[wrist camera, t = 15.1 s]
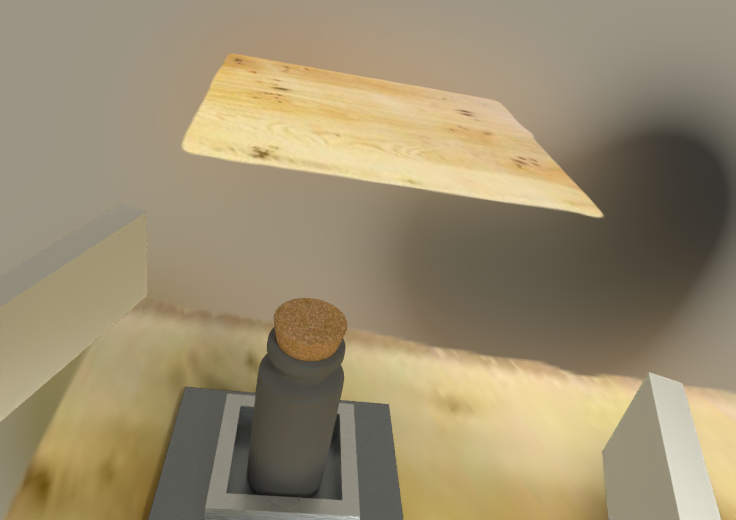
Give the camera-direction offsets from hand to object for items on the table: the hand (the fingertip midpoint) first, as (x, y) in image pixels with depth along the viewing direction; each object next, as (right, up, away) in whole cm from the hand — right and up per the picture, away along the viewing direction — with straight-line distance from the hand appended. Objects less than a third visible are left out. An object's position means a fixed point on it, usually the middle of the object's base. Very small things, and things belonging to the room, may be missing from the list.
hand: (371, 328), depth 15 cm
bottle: (-7, -15, +30) cm, 34 cm away
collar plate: (-7, -16, +31) cm, 35 cm away
